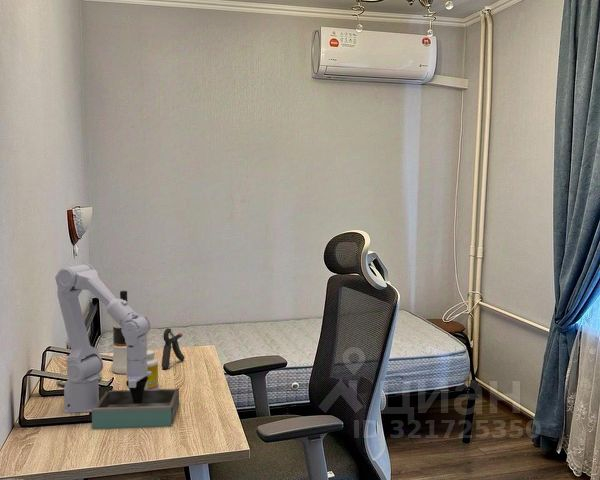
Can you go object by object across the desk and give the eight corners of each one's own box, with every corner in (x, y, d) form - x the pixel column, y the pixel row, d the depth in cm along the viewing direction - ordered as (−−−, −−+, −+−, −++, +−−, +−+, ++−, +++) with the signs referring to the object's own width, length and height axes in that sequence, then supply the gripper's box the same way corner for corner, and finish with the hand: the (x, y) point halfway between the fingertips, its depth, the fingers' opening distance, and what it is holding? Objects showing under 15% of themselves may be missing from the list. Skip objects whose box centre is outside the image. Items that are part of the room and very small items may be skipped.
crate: (92, 427, 150) (92, 410, 150) (106, 406, 165) (106, 390, 165) (172, 424, 153) (172, 407, 152) (179, 404, 167) (178, 388, 167)
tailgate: (92, 428, 149) (91, 409, 149) (93, 427, 150) (92, 407, 150) (170, 426, 151) (170, 407, 151) (171, 424, 152) (171, 405, 152)
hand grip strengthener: (185, 360, 210) (185, 323, 209) (166, 370, 199) (165, 331, 197) (180, 360, 211) (180, 322, 210) (161, 369, 200) (160, 330, 198)
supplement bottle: (161, 386, 183) (160, 349, 181) (154, 393, 176) (153, 355, 175) (142, 385, 183) (141, 348, 182) (134, 392, 177) (133, 354, 176)
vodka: (127, 376, 192) (125, 294, 190) (106, 372, 196) (104, 292, 193) (143, 368, 201) (141, 289, 198) (123, 365, 204) (121, 287, 202)
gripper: (146, 365, 150) (147, 412, 151) (155, 350, 164) (156, 393, 166) (120, 366, 149) (121, 413, 151) (131, 351, 164) (132, 393, 165)
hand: (138, 402), depth 158 cm, fingers closed
